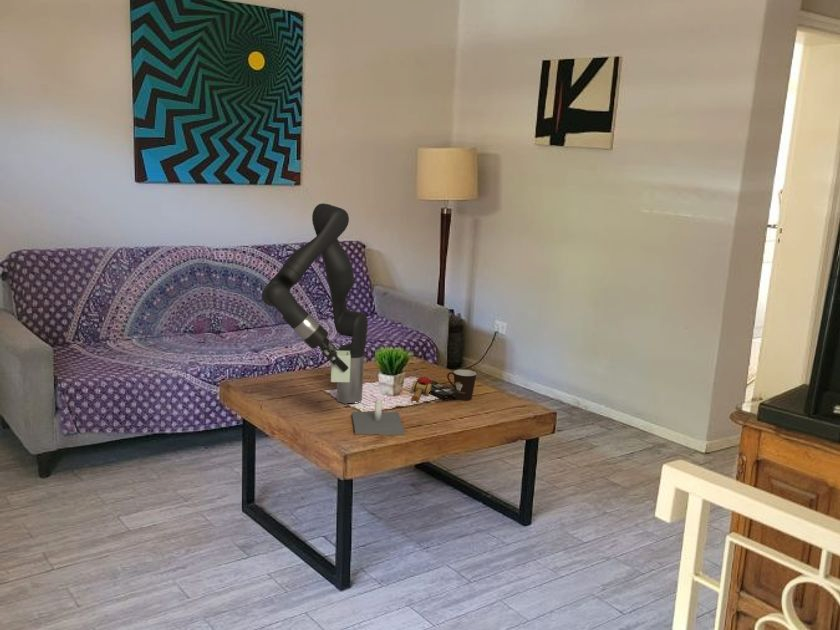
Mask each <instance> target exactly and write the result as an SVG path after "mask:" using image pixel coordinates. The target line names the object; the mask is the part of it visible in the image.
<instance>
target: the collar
mask: <svg viewBox="0 0 840 630" xmlns="http://www.w3.org/2000/svg"><path fill="white" fill-rule="evenodd" d="M336 352H337V356H338V357H339V358H341V360H342V361H343V362H344V363H345V364H346V365H347V366H348V369H347V370H346V371H345V372H343V371H342V370H341V369H340V368H339V367H338V366H337V365H334V364H332V362H331V361H330V382H331V383H337V382H350V360H351V355H350V351H336ZM332 359H333V360H335V359H336V358H335V357H333V358H332Z"/></svg>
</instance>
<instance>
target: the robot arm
mask: <svg viewBox="0 0 840 630" xmlns="http://www.w3.org/2000/svg"><path fill="white" fill-rule="evenodd" d="M349 220H350V218H349V213H348V212H347V211H346V210H345V209H344V208H342V207H338V206H335V205H333V204H329V203H325V202H324V203H319V204H317V205H316V206H315V207H314V208H313V211H312V218H311V221H312V225H313V229H314V232H315V235H316V236H314V238H312V239H311V240H310V241H308V242H307V243H305V244H304V245H302V246H300V247H299V248H297V249H296V250H295V251H294V252H292V254H291V255H290V256H289V257H288V259H286V261H285V262H284V264H283V265H282V266H281V268H280V269H279V271H278V272H277V274H275V276H273V277H272V278H271V280H270V281H269V282H268V283H267V284H266V286H265V287H264V288H263V290H262V292H261V300H262V301H263V303H264V304H265V305H266V306H269V307H274V308H276V310H277V311H278V312H279V313H280V314H281V315H282V319H283V320H284V322H286V324H287V325H289V326H290V328H292V330H293V331H294V333H295V334H297V336H298V337H300V339H301V340H302V341H304V343H305V344H307V346H308V347H309V348H310V349H313V350H314V349H317V347H318V348H319V349H320V352H321V355H323V357H325V358H326V359H327V360H328V361H330V363H331V362H332V364H334V365H337V366H338V367H339V368H340V369H341V370H342V371H343V372H345V371H346V370H347V369H348V366H347V365H346V364H345V363H344V362H343V361H342V360H341V358H339V357H338V356H337V352H336V351H350V355H351V360H350V382H336V383H337V386H336V387H337V388H336V401H337V402H338V403H341V404H345V405H346V404H347V403H355V402H359V401H361V400H362V401H363V387H364V385H363V382H364V364H365V361H364V360H365V350H366V347H367V345H366V344H367V335H368V327H369V325H368V324H369V323H368V322H369V321H368V316H367V315H366V313H365V312H361V311H360V312H359V311H354V310H349V309H348V306H347V297H348V296H349V293H350V292H351V290H352V288H353V286H354V283H355V275H354V270H353V264H352V262H351V259H350V258H349V256H348V254H347V253H346V251H345V249H344V248H343V246H342V245H341V243H340V241H339V239H338V238H339V237H340V236H341V235H342V234H343V233H344V232H345V230H347V227H348V225H349V222H350V221H349ZM320 256H322V259H323V265H324V269H325V270H324V271H325V275H326V281H327V283H328V287H329V293H330V298H331V305H332V314H333V322H334V323H333V324H334V328H335V330H336V332H337V333H338V335H341V336H345V337H351V342H350V343H346V344H342V345H340V346H339V348H337V346H335V345H334V344H333V342H332V341H331V340H330V339H329V338H328V336H329V332H328V331H327V329H325V328H324V327H323V326H322V324H321V323H319V321H318V320H317V319H316V318H315V317H313V316H312V315H311V314H310V313H309V312H307V310H306V309H305V308H304V307H303V306H302V305H301V304H300V303H299V302H298V300H297V299H296V298H295V297H294V295H293V293H291V291H290V290H292V288H293V286H296V284H298V283H299V281H300V280H301V279H302V277H303V276H304V275H305V273H306V272H308V270H309V268H310V267H311V265H312V264H313V263H314V262H315V261H316V260H317V259H318V258H319V257H320ZM333 357H335V358H336V359H335V360H333V359H332V358H333ZM362 401H361V402H362ZM347 405H348V404H347Z"/></svg>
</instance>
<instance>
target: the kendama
mask: <svg viewBox="0 0 840 630" xmlns="http://www.w3.org/2000/svg"><path fill="white" fill-rule="evenodd" d="M412 382H413V383H412V386H411V392H412V393H413V395H412V396H411V399H410V400H411V402H412V401H416V402H418V403H419V402H420V399H421V396H422V393H423V394H424V395H425V396H426V395H427V396H426V397H429V396H430V395H429V392H430V391H432V387H433V384H432V381H431V379H429V377H427V376H420V377H419V378H417V380H414V381H412ZM430 393H431V392H430ZM428 395H429V396H428Z"/></svg>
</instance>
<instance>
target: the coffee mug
mask: <svg viewBox="0 0 840 630" xmlns="http://www.w3.org/2000/svg"><path fill="white" fill-rule="evenodd" d="M450 375H452V376H453V382H452V381H451V379H450ZM446 378H447V380H448V382H449V383H450V385H451V386H452V387H453V388H454V399H455V398H456V400H458V401H461V402H464V401H465V402H468V401H471V400H472V398H473V392H474V390H475V384H476V378H477V372H476V371H474V370H470V369H455V370H454V371H452V372H451V371H450V372H447V375H446Z"/></svg>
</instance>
